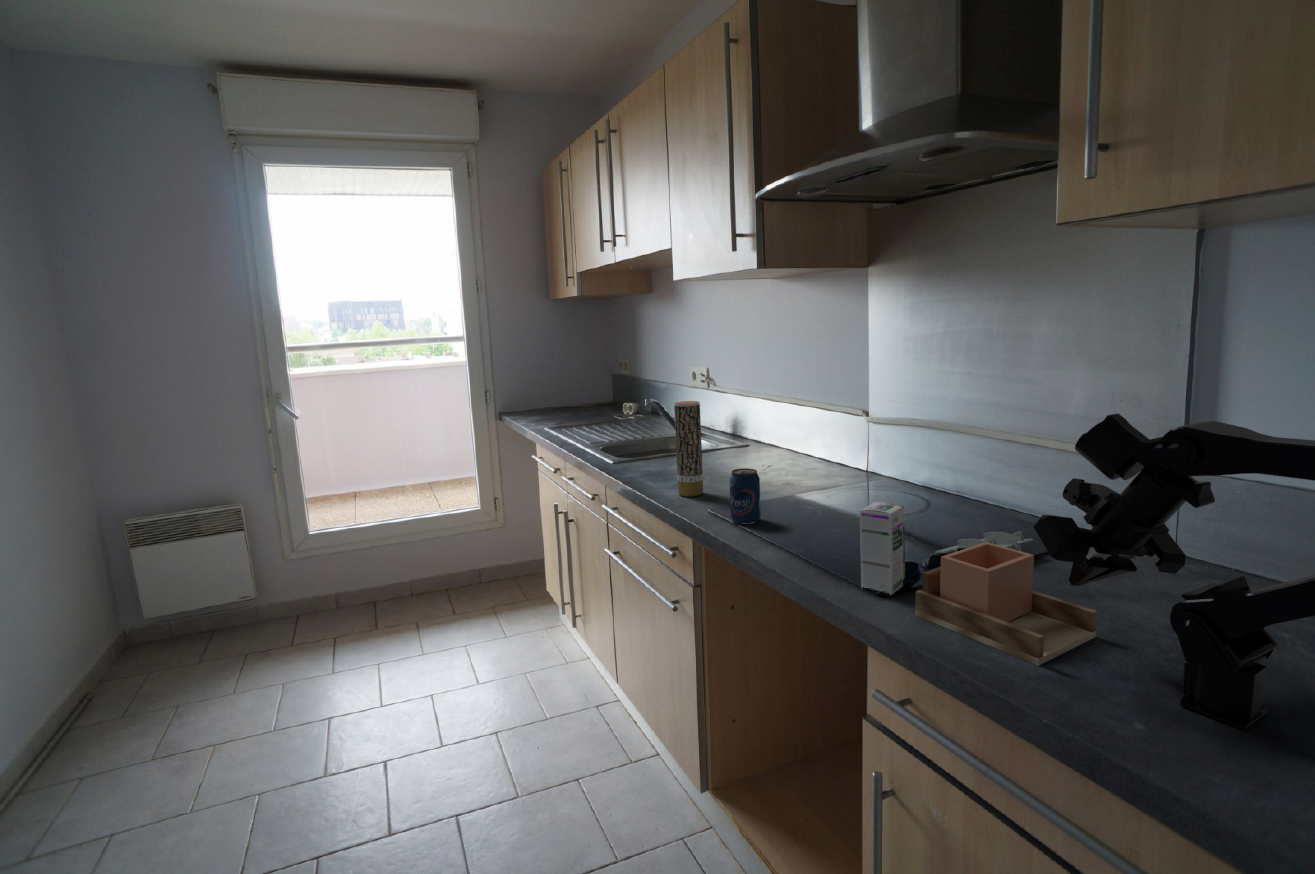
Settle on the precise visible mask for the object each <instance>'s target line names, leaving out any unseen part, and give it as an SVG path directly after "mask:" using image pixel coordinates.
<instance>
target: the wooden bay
mask: <svg viewBox="0 0 1315 874" xmlns="http://www.w3.org/2000/svg"><path fill="white" fill-rule="evenodd" d="M940 571H941V566H938V567H935V568H933V569H930V570H927V571H923V572H922V589H919V590H916V591H915V603H914V604H915V606H914V607H915V609H914V610H915V611H914V614H915V616H916V617H918V618H921V619H923V620H925V621H928V622H931V623H932V624H935V625H938V626H941V627H943V628H945V629H947V630H949V631H953V632H955V633H957V634H960V635H963V636H965V637H968V638H969V639H972V640H975V641H976V642H979V643H982V644H984V645H987V646H988V647H991V648H994V649H996V650H999V651H1002V652H1004V653H1007V654H1009V655H1011V656H1013V657H1016V658H1019V659H1021V660H1023V661H1026V662H1029V663H1030V664H1034V665H1036V666H1041V665H1043V664H1045V663H1047V662H1049V661H1051V660H1053V659H1054V658H1057V657H1059V656H1061V655H1063V654H1065V653H1067V652H1069V651H1071V650H1073V649H1074V648H1077V647H1079V646H1080V645H1083V644H1084V643H1087V642H1088V641H1091V640H1092V639H1095V638H1096V635H1097V620H1098V618H1097V617H1098V611H1097V610H1095V609H1091V608H1089V607H1086V606H1083V605H1079V604H1077V603H1074V602H1070V601H1067V600H1064V599H1060V598H1058V597H1054V596H1052V595H1048V594H1046V593H1042V592H1038V591H1035V590H1032V611H1031V612H1029V613H1026V614H1024V615H1022V616H1020V617H1017V618H1015V619H1013V620H1010V621H1008V622H1005V621H1003V620H1000V619H997V618H995V617H992V616H989V615H986V614H984V613H981V612H978V611H976V610H973V609H970V608H967V607H965V606H962V605H959V604H957V603H954V602H951V601H948V600H946V599H943V598H940Z"/></svg>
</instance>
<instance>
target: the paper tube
mask: <svg viewBox="0 0 1315 874" xmlns="http://www.w3.org/2000/svg"><path fill="white" fill-rule="evenodd" d="M673 407H674V412H673V413H674V427H675V429H674V430H675V433H674V434H675V449H676V453H675V455H676V470H677V473H676V474H677V490H678V491H677V492H678V495H680V496H682V497H687V498H689V497H690V498H691V497H692V498H693V497H698V496H701V495H702V494H703V493H704V479H703V478H704V476H703V475H704V474H703V473H704V472H703V451H702V448H703V447H702V429H701V428H702V426H701V424H702V423H701V422H702V421H701V403H700V401H699V400H697V401H696V400H687V401H682V400H681V401H676V402H674V405H673Z"/></svg>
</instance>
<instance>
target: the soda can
mask: <svg viewBox="0 0 1315 874" xmlns="http://www.w3.org/2000/svg"><path fill="white" fill-rule="evenodd" d="M760 479H761V478H760V476H759V475H758V471H757V470H756V469H754V468H737V469H736V468H735V469H733V470H731V475H730V477H729V504H730V505H729V506H730V507H729V508H730V518H731V520H732V521H733V522H734V523H735V522H737V523H751V522H757V521H758V522H759V520H760V518H761V483H760ZM758 522H757V523H758Z"/></svg>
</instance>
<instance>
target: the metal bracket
mask: <svg viewBox="0 0 1315 874" xmlns="http://www.w3.org/2000/svg"><path fill="white" fill-rule="evenodd" d="M1032 541H1034V538H1024V533H1023V532H1022V530H1021V531H1020V530H1018V531H1015V532H1013V533H1007V532H1004V531H988V532H984V533H983V538H980V539H978V538H960V539H958V540H957V545H954V546H950V547H947V548H942V549H938V550H935V551H934V553H935V554H950V553H953V552H957V551H956V550H957V549H958V548H969V547H972V546H975V545H978V544H981V543H984V542H988V543H992V544H996V545H999V546H1003V547H1007V548H1010V549H1014V550H1017V551H1021V552H1023V550H1022V547H1021V545H1022V544H1025V543H1028V542H1032Z"/></svg>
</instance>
